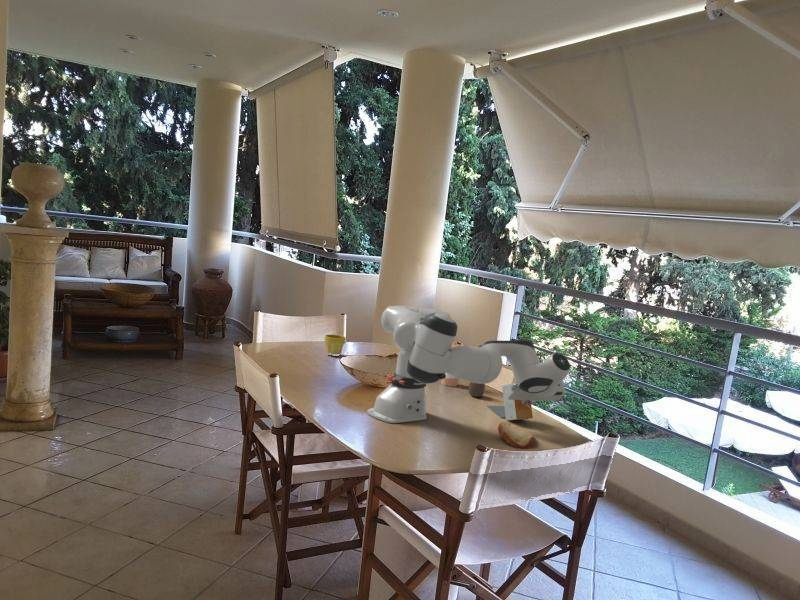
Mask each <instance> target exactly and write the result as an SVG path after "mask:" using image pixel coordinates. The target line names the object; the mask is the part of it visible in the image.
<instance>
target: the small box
mask: <svg viewBox="0 0 800 600" xmlns="http://www.w3.org/2000/svg"><path fill="white" fill-rule="evenodd" d="M512 384H513V383H508V384H504V385H502V386H501V388H502V397H503V404H504V405H503V406H504V407H505V415H506V418H505V421H510V420H511V421H512V420H515V421H516V420H525V419H526V420H529V419H533V417H534V416H533V408H532V407H533V406H532V404H528V402H527V403H526V404H521V400H509V399H508V398H507V395H506V390H507V389H508V388H509V387H510V386H511V385H512ZM526 401H527V400H526Z"/></svg>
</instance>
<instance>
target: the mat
mask: <svg viewBox="0 0 800 600" xmlns="http://www.w3.org/2000/svg"><path fill="white" fill-rule="evenodd" d="M486 407H487V408H488V409H489V408H490V409H489V410H491V411H492V412H493V413H495V414H496V415H497V416H500V417H499V418H501V419H506V415H505V407H504V405H486Z"/></svg>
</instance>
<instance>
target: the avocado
mask: <svg viewBox="0 0 800 600" xmlns="http://www.w3.org/2000/svg"><path fill="white" fill-rule="evenodd" d="M485 391H486V384H479V383H474V382H469V385H468V394H469V395H470V396H471V397H472V396H474V397H473V398H476V397H479V398H481V397H482V396H483V395H484V393H485Z"/></svg>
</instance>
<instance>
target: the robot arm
mask: <svg viewBox="0 0 800 600" xmlns="http://www.w3.org/2000/svg"><path fill="white" fill-rule="evenodd" d="M380 323H381V326H382V328H383V330H384V332H385V333H388V334H391V335H393V340H394V342H395V343H396V345H397V346H398V347H399V348H400V349H401V350H400V351H399V352H398V354H397V358H396V359H397V360H396V369H395V373H394V375H390V374H388V375H387V376H386V381H389V382H390V384H389V386H387V387H386V388H384V390H383V391H382V392H380V394H378V395H377V396H376V398H375V402H374V407H371V408H368V409H367V411H366V413H367V415H369V416H371V417H372V418H375V419H377V420H378V421H379V420H380V421H382V422H385V423H390V424H397V423H398V424H399V423H400V424H401V423H406V422H407V423H408V422H417V421H425V420H428V419H427V418H428V417H427V412H426V406H427V405H426V402H427V401H426V391H425V390H426V387H427V384H433V383H436V382H438V381H440V380H442V379H444V378H445V377H446V375H445V373H450V374H451V375H453V376H455V377H457V378H458V380H459V379H460V380H462V381H466V382H469V383H470V382H474V383H479V384H485V385H486V384H490V383H491V382H493V381H495V380H496V379H497V378H498V377H499V375H500V374H501V372H502V369H503V358H502V357H505V358H506V359H507V361H508V363H509V365H510V368H511V370H512V373H513V377H514V379H515V382H513V383H511V384H512V385H511V386H510V387H509V388H508V389H507V390H506V395H507V398H508V399H509V400H521V404H526V403H527V402H528V404H531V405H533V404H534V403H536V402H538V401H539V402H540V401H541V402H557V401H560V399H562V397H563V396H564V395H565V394H566V393H567V392H566V387H565V384H564V380H565V379H566V378H567V376H568V375H569V372H570V370H571V364H570V361H569V359H568V358H567V356H566V355H564V354H562V353H561V352H554V353H552V354H550V355H549V356H548V357H547V358H546V359H544V361H543V362H540V359H539V356H538V355H537V351H536V348H535V345H534V343H533V342H532V341H530V340H528V339H524V338H520V339H515V340H488V341H485V342H483V343H481V344H480V345H479V346H474V345H460V346H457V347H454V348H451V347H452V344H453V342H454V340H455V337H457V334H458V324H457V323H456V321H454V320H453V318H452V317H451V316H450V314H449V313H447V312H444V311H442V310H438V309H434V308H433V309H432V308H425V307H416V306H409V305H388V306H387V307H386V308H385V309H384V311H383V312H382V315H381V318H380ZM526 400H527V401H526Z"/></svg>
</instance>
